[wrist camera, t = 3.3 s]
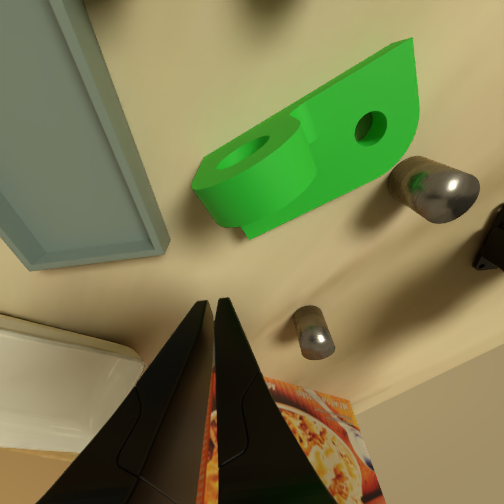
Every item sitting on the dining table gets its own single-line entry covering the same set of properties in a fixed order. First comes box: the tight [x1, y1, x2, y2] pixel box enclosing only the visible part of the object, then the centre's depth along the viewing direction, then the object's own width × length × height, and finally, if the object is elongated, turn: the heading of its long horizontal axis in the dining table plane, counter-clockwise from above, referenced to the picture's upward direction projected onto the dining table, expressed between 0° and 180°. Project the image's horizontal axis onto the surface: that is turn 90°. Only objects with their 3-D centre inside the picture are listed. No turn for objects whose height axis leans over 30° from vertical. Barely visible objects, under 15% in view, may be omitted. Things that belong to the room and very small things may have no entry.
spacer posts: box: [212, 156, 480, 373], centre depth 15 cm, size 19×31×4 cm, turn 7°
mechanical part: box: [191, 37, 420, 240], centre depth 13 cm, size 12×6×8 cm, turn 118°
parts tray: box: [0, 0, 170, 271], centre depth 13 cm, size 10×16×2 cm, turn 7°
